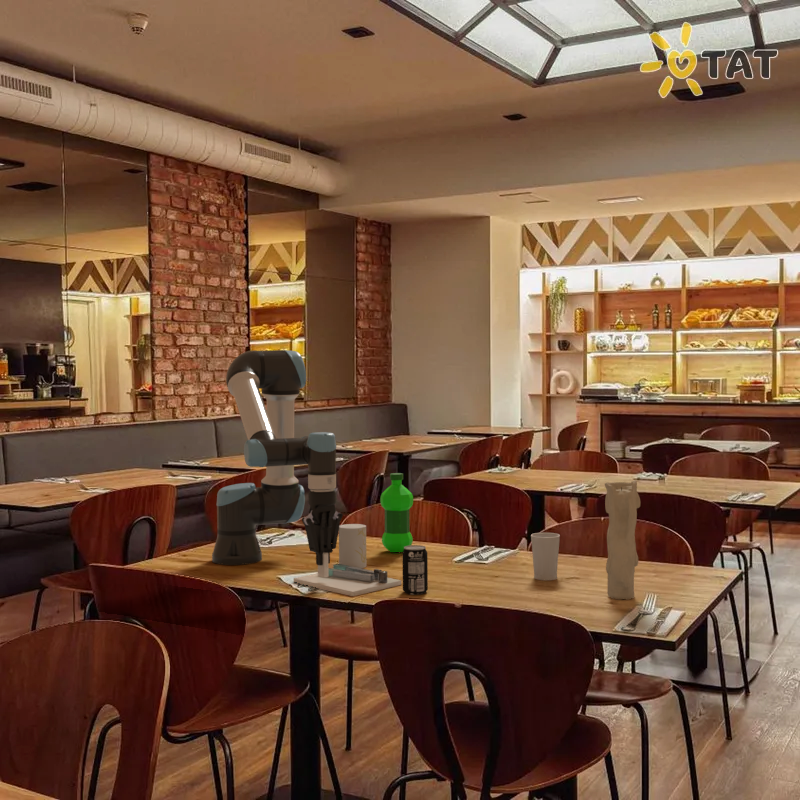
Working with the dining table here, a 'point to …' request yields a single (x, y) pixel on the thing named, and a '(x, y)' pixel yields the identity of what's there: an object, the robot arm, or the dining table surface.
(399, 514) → the plastic bottle
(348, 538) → the cup
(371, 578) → the bar
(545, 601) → the dining table surface
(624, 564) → the beige lumpy column
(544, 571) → the cup
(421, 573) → the beverage can
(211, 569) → the dining table surface
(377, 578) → the tongs fixed
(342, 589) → the rest board
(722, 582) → the dining table surface
